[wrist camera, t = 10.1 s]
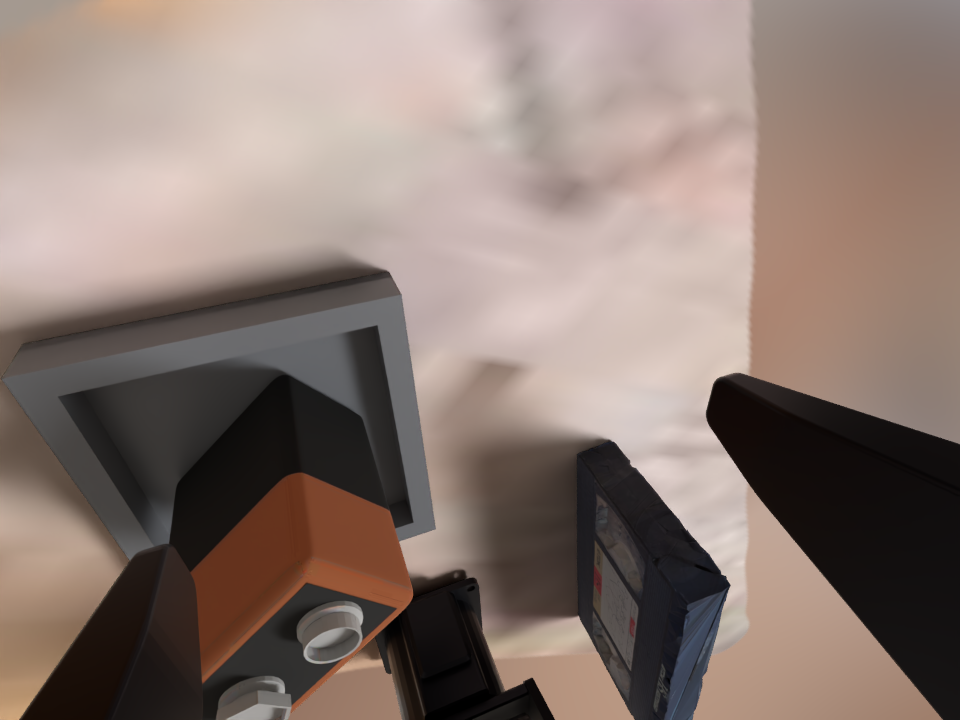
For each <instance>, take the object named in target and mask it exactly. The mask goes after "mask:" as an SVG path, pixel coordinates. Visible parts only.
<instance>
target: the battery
mask: <svg viewBox="0 0 960 720" xmlns="http://www.w3.org/2000/svg"><path fill="white" fill-rule="evenodd" d="M169 544H171V545H172V546H174V548H175V549H176V550H177V552H178V554H179V555H180V557H181V559H182V560H183V562H184V564H185V565H186V567H187V568H188V570H189V572H190V573H191V575H192V577H193V579H194V582H195V586H196V593H197V608H198V624H199V640H200V656H201V673H202V692H203V716H202V720H288V718H289V715H290V713H292V712H293V711H294V710H295V709H296V708H297V707H298V706H299V705H300V704H302V702H304V701H305V700H306V699H307V698H308V697H309V696H310V695H311V694H312V693H314V692H315V691H316V690H317V689H318V688H319V687H320V686H321V685H322V684H323V683H325V682H326V681H327V680H328V679H329V678H330V677H331V676H332V675H333V674H334V673H336V672H337V671H338V670H339V669H340V668H341V667H342V666H343V665H344V664H345V663H346V662H348V661H349V660H350V659H351V658H352V657H353V656H354V655H355V654H356V653H357V652H358V651H360V650H361V649H362V648H363V647H364V646H365V645H366V644H367V643H368V642H369V641H370V640H372V639H373V638H374V637H375V636H376V635H377V634H378V633H379V632H380V631H381V630H383V629H384V628H385V627H386V626H387V625H388V624H389V623H390V622H391V621H392V620H393V619H395V618H396V617H397V616H398V615H399V614H400V613H401V612H402V611H403V610H404V609H405V608H406V607H407V606H408V605H409V603H410V602H411V600H412V598H413V589H412V585H411V581H410V578H409V574H408V571H407V568H406V564H405V561H404V557H403V554H402V551H401V547H400V544H399V540H398V537H397V534H396V530H395V527H394V523H393V520H392V516H391V513H390V510H389V506H388V503H387V499H386V496H385V493H384V489H383V486H382V482H381V479H380V476H379V472H378V469H377V465H376V462H375V459H374V455H373V452H372V448H371V445H370V442H369V438H368V435H367V431H366V428H365V425H364V422H363V419H362V417H361V416H360V415H358V414H357V413H355V412H353V411H352V410H350V409H348V408H346V407H344V406H343V405H341V404H339V403H337V402H335V401H334V400H332V399H330V398H328V397H326V396H325V395H323V394H321V393H319V392H318V391H316V390H314V389H312V388H310V387H309V386H307V385H305V384H303V383H301V382H300V381H298V380H296V379H294V378H292V377H290V376H288V375H281V376H278V377H277V378H275V379H274V380H273V381H272V382H271V383H270V384H269V385H268V386H267V387H266V388H265V389H264V390H263V391H262V392H261V393H260V394H259V396H258V397H257V398H256V399H255V400H254V401H253V402H252V403H251V404H250V405H249V406H248V407H247V408H246V409H245V411H244V412H243V413H242V414H241V415H240V416H239V417H238V418H237V419H236V420H235V421H234V422H233V423H232V425H231V426H230V427H229V428H228V429H227V430H226V431H225V432H224V433H223V434H222V435H221V436H220V437H219V439H218V440H217V441H216V442H215V443H214V444H213V445H212V446H211V447H210V448H209V449H208V450H207V451H206V453H205V454H204V455H203V456H202V457H201V458H200V459H199V460H198V461H197V462H196V463H195V464H194V465H193V467H192V468H191V469H190V470H189V471H188V472H187V473H186V474H185V475H184V476H183V477H182V478H181V480H180V481H179V482H178V484H177V486H176V491H175V499H174V507H173V515H172V523H171V531H170V539H169Z"/></svg>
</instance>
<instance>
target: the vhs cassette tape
mask: <svg viewBox="0 0 960 720" xmlns="http://www.w3.org/2000/svg"><path fill="white" fill-rule="evenodd" d="M703 551H704V552H703ZM577 580H578V615H579V617H580V620H581V622H582V624H583V625H584V627H585V629H586V631H587V633H588V634H589V636H590V638H591V640H592V642H593V644H594V646H595V648H596V650H597V652H598V653H599V655H600V657H601V659H602V661H603V663H604V665H605V666H606V669H607V670H608V672H609V674H610V676H611V678H612V679H613V681H614V683H615V685H616V687H617V689H618V691H619V692H620V695H621V696H622V698H623V700H624V702H625V704H626V706H627V708H628V710H629V711H630V713H631V715H633V717H634V719H635V720H692V719H693V714H694V711H695V709H696V706H697V703H698V699H699V696H700V692H701V688H702V677H703V675H704V674H705V673H706V671H707V668H708V663H709V660H710V656H711V653H712V650H713V646H714V642H715V639H716V635H717V631H718V627H719V622H720V617H721V612H722V609H723V605H724V602H725V601H726V597H727V593H728V590H729V588H730V586H731V585H730V584H729V582H728V581H727V577H726V576H724V575H721V571H720V570H719V568H718V567H717V566H716V564H715V563H714V561H713V560H712V558H711V557H710V555H709V554H708V553H707V552H706V551H705V550H704V549H703V548H702V547H701V546H700V545H699V544H698V542H697V541H696V540H695V539H694V538H693V537H692V536H691V535H690V533H689V532H688V530H687V531H686V529H685V528H684V526H683V525H682V523H681V522H680V520H679V519H678V518H677V517H676V516H675V515H674V513H673V512H672V511H671V510H670V509H669V508H668V506H667V505H666V504H665V503H664V502H663V500H662V499H661V498H660V496H659V495H658V494H657V493H656V492H655V490H654V489H653V488H652V487H651V485H650V484H649V483H648V482H647V481H646V479H645V478H644V477H643V476H642V475H641V474H640V473H639V471H638V470H637V469H636V468H634V467H632V466H631V465H630V460H629V459H628V458H627V457H626V456H625V455H624V454H623V452H622V451H621V450H620V449H619V447H618V446H617V444H616V443H615V442H606V443H604V444H602V445H600V446H597V447H596V448H595V449H594V448H592V449H590V450H588V451H584V452H582V453H579V454H577Z"/></svg>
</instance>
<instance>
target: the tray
mask: <svg viewBox="0 0 960 720" xmlns="http://www.w3.org/2000/svg"><path fill="white" fill-rule="evenodd" d="M281 375H288V376H290V377H292V378H294V379H296V380H298V381H300V382H301V383H303V384H305V385H307V386H309V387H310V388H312V389H314V390H316V391H318V392H319V393H321V394H323V395H325V396H326V397H328V398H330V399H332V400H334V401H335V402H337V403H339V404H341V405H343V406H344V407H346V408H348V409H350V410H352V411H353V412H355V413H357V414H358V415H360V416H361V417H362V419H363V422H364V425H365V428H366V431H367V435H368V438H369V442H370V445H371V448H372V452H373V455H374V459H375V462H376V465H377V469H378V472H379V476H380V479H381V482H382V486H383V489H384V493H385V496H386V499H387V503H388V506H389V510H390V513H391V516H392V520H393V523H394V527H395V530H396V534H397V537H398V540H399V541H402V540H405V539H408V538H411V537H414V536H417V535H420V534H423V533H426V532H429V531H432V530H435V529H436V527H435V520H434V514H433V507H432V500H431V493H430V486H429V480H428V473H427V466H426V459H425V452H424V445H423V439H422V432H421V425H420V418H419V411H418V405H417V398H416V391H415V384H414V377H413V371H412V364H411V357H410V350H409V343H408V336H407V330H406V323H405V316H404V309H403V302H402V296H401V293H400V291H399V289H398V287H397V286H396V284H395V282H394V280H393V278H392V276H391V275H390V273H389V272H385V273H380V274H375V275H370V276H365V277H359V278H354V279H349V280H344V281H339V282H334V283H329V284H324V285H319V286H314V287H309V288H304V289H299V290H294V291H289V292H284V293H279V294H274V295H268V296H263V297H258V298H253V299H248V300H243V301H238V302H233V303H228V304H223V305H218V306H213V307H208V308H203V309H198V310H193V311H188V312H183V313H177V314H172V315H167V316H162V317H157V318H152V319H147V320H142V321H137V322H132V323H127V324H122V325H117V326H112V327H107V328H102V329H97V330H92V331H86V332H81V333H76V334H71V335H66V336H61V337H56V338H51V339H46V340H41V341H36V342H31V343H26V344H22V346H21V348H20V349H19V351H18V352H17V354H16V356H15V357H14V359H13V361H12V362H11V364H10V365H9V367H8V369H7V370H6V372H5V374H4V375H3V377H2V378H1V379H2V380H3V382H4V383H5V385H6V386H7V387H8V389H9V390H10V392H11V393H12V395H13V396H14V397H15V399H16V400H17V402H18V403H19V404H20V406H21V407H22V409H23V410H24V412H25V413H26V414H27V416H28V417H29V419H30V420H31V421H32V423H33V424H34V426H35V427H36V429H37V430H38V431H39V433H40V434H41V436H42V437H43V438H44V440H45V441H46V443H47V444H48V446H49V447H50V448H51V450H52V451H53V453H54V454H55V455H56V457H57V458H58V460H59V461H60V463H61V464H62V465H63V467H64V468H65V470H66V471H67V472H68V474H69V475H70V477H71V478H72V480H73V481H74V482H75V484H76V485H77V487H78V488H79V489H80V491H81V492H82V494H83V495H84V497H85V498H86V499H87V501H88V502H89V504H90V505H91V506H92V508H93V509H94V511H95V512H96V514H97V515H98V516H99V518H100V519H101V521H102V522H103V523H104V525H105V526H106V528H107V529H108V531H109V532H110V533H111V535H112V536H113V538H114V539H115V541H116V542H117V543H118V545H119V546H120V548H121V549H122V550H123V552H124V553H125V555H126V556H127V558H128V559H129V560H131V558H132V557H133V556H134V555H135V554H136V553H138V552H139V551H142V550H145V549H148V548H152V547H155V546H158V545H162V544H169V539H170V531H171V523H172V515H173V507H174V499H175V491H176V486H177V484H178V482H179V481H180V480H181V478H182V477H183V476H184V475H185V474H186V473H187V472H188V471H189V470H190V469H191V468H192V467H193V465H194V464H195V463H196V462H197V461H198V460H199V459H200V458H201V457H202V456H203V455H204V454H205V453H206V451H207V450H208V449H209V448H210V447H211V446H212V445H213V444H214V443H215V442H216V441H217V440H218V439H219V437H220V436H221V435H222V434H223V433H224V432H225V431H226V430H227V429H228V428H229V427H230V426H231V425H232V423H233V422H234V421H235V420H236V419H237V418H238V417H239V416H240V415H241V414H242V413H243V412H244V411H245V409H246V408H247V407H248V406H249V405H250V404H251V403H252V402H253V401H254V400H255V399H256V398H257V397H258V396H259V394H260V393H261V392H262V391H263V390H264V389H265V388H266V387H267V386H268V385H269V384H270V383H271V382H272V381H273V380H274V379H275V378H277V377H278V376H281Z"/></svg>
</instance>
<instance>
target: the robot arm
mask: <svg viewBox="0 0 960 720" xmlns="http://www.w3.org/2000/svg"><path fill="white" fill-rule="evenodd" d="M706 418H707V422H708V424H709V426H710V428H711V429H712V430H713V432H714V433H715V435H716V436H717V438H718V439H719V441H720V442H721V444H722V445H723V447H724V448H725V450H726V451H727V453H728V454H729V455H730V457H731V458H732V460H733V461H734V463H735V464H736V466H737V467H738V469H739V470H740V472H741V473H742V475H743V476H744V478H745V479H746V480H747V482H748V483H749V485H750V486H751V487H752V489H753V490H754V492H755V493H756V494H757V496H758V497H759V498H760V499H761V501H762V502H763V503H764V504H765V506H766V507H767V508H768V509H769V511H770V512H771V513H772V514H773V515H774V517H775V518H776V519H777V520H778V521H779V522H780V524H781V525H782V526H783V527H784V529H785V530H786V531H787V532H788V533H789V535H790V536H791V537H792V538H793V540H794V541H795V542H796V543H797V544H798V545H799V547H800V548H801V549H802V550H803V552H804V553H805V554H806V555H807V556H808V557H809V559H810V560H811V561H812V562H813V564H814V565H815V566H816V567H817V568H818V570H819V571H820V572H821V573H822V574H823V576H824V577H825V578H826V579H827V580H828V582H829V583H830V584H831V585H832V586H833V588H834V589H835V590H836V591H837V593H838V594H839V595H840V596H841V597H842V599H843V600H844V601H845V602H846V603H847V605H848V606H849V607H850V608H851V609H852V611H853V612H854V613H855V614H856V616H857V617H858V618H859V619H860V620H861V622H863V624H864V625H865V626H866V628H867V629H868V630H869V631H870V632H871V633H872V635H873V636H874V637H875V638H876V640H877V641H878V642H879V643H880V644H881V646H882V647H883V648H884V649H885V651H886V652H887V653H888V654H889V655H890V657H891V658H892V659H893V660H894V661H895V663H896V664H897V665H898V666H899V667H900V669H901V670H902V671H903V672H904V673H905V675H907V677H908V678H909V679H910V681H911V682H912V683H913V684H914V685H915V687H916V688H917V689H918V690H919V692H920V693H921V694H922V695H923V696H924V697H925V698H926V700H927V701H928V702H929V704H930V705H931V706H932V707H933V708H934V710H935V711H936V712H937V713H938V714H939V716H940V717H941V718H942V719H943V720H960V444H958V443H955V442H952V441H948V440H945V439H942V438H939V437H936V436H933V435H930V434H927V433H924V432H921V431H918V430H914V429H911V428H908V427H905V426H902V425H899V424H896V423H893V422H890V421H887V420H884V419H880V418H877V417H874V416H871V415H868V414H865V413H862V412H859V411H856V410H853V409H850V408H847V407H844V406H840V405H837V404H834V403H831V402H828V401H825V400H822V399H819V398H816V397H813V396H810V395H807V394H803V393H800V392H797V391H794V390H791V389H788V388H785V387H782V386H779V385H775V384H772V383H769V382H766V381H763V380H760V379H757V378H754V377H751V376H748V375H745V374H741V373H733V374H729V375H726V376H723V377H719V378H718V379H716V381H715V382H714V384H713V387H712V391H711V395H710V399H709V402H708V406H707V410H706ZM375 638H376V641H377V644H378V648H379V651H380V654H381V657H382V661H383V664H384V667H385V670H386V673H388V674H392V677H393V682H394V685H395V690H396V695H397V699H398V704H399V708H400V712H401V717H402V720H555V719H554V717H553V715H552V713H551V711H550V710H549V708H548V706H547V704H546V702H545V700H544V698H543V696H542V694H541V692H540V691H539V689H538V687H537V685H536V683H535V681H534V680H533V678H530V679H528V680H525V681H523V684H521V685H518V686H516V687H514V688H512V689H509V690H507V691H505V689H504V686H503V684H502V681H501V679H500V676H499V674H498V671H497V668H496V665H495V663H494V660H493V658H492V655H491V652H490V650H489V647H488V645H487V642H486V639H485V637H484V634H483V631H482V618H481V606H480V594H479V585H478V583H477V580H476V579H475V578H468V579H465V580H462V581H460V582H457V583H454V584H451V585H449V586H446V587H443V588H441V589H438V590H435V591H432V592H430V593H427V594H424V595H421V596H419V597H416V598H413V599H412V600H411V602H410V603H409V605H408V606H407V607H406V608H405V609H404V610H403V611H402V612H401V613H400V614H399V615H398V616H397V617H396V618H395V619H393V620H392V621H391V622H390V623H389V624H388V625H387V626H386V627H385V628H384V629H383V630H381V631H380V632H379V633H378V634H377V635H376V636H375ZM202 716H203V692H202V673H201V656H200V640H199V624H198V608H197V593H196V586H195V582H194V579H193V577H192V575H191V573H190V572H189V570H188V568H187V567H186V565H185V564H184V562H183V560H182V559H181V557H180V555H179V554H178V552H177V550H176V549H175V548H174V546H172V545H171V544H162V545H158V546H155V547H152V548H148V549H145V550H142V551H139V552H138V553H136V554H135V555H134V556H133V557H132V558H131V560H130V561H129V563H128V564H127V566H126V567H125V568H124V570H123V571H122V573H121V574H120V576H119V577H118V578H117V580H116V581H115V583H114V584H113V586H112V587H111V589H110V590H109V591H108V593H107V594H106V596H105V597H104V599H103V600H102V601H101V603H100V604H99V606H98V607H97V609H96V610H95V612H94V613H93V614H92V616H91V617H90V619H89V620H88V622H87V623H86V624H85V626H84V627H83V629H82V630H81V632H80V633H79V634H78V636H77V637H76V639H75V640H74V642H73V643H72V645H71V646H70V647H69V649H68V650H67V652H66V653H65V655H64V656H63V657H62V659H61V660H60V662H59V663H58V665H57V666H56V668H55V669H54V670H53V672H52V673H51V675H50V676H49V678H48V679H47V680H46V682H45V683H44V685H43V686H42V688H41V689H40V691H39V692H38V693H37V695H36V696H35V698H34V699H33V701H32V702H31V703H30V705H29V706H28V708H27V709H26V711H25V712H24V714H23V715H22V716H21V718H20V719H19V720H202Z"/></svg>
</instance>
